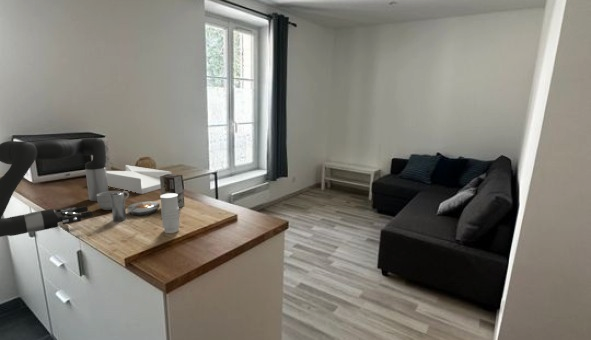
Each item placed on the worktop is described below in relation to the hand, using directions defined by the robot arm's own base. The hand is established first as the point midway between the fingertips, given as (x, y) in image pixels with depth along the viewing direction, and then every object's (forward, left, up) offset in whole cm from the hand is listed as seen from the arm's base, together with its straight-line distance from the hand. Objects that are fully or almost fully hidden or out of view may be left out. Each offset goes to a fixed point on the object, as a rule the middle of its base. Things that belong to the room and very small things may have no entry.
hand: (89, 211), depth 132 cm
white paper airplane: (-49, +50, -7) cm, 71 cm away
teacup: (-15, +18, -7) cm, 25 cm away
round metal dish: (+3, +22, -7) cm, 24 cm away
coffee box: (+8, +35, -7) cm, 37 cm away
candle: (+33, +14, -7) cm, 37 cm away
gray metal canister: (+3, +10, -7) cm, 13 cm away
